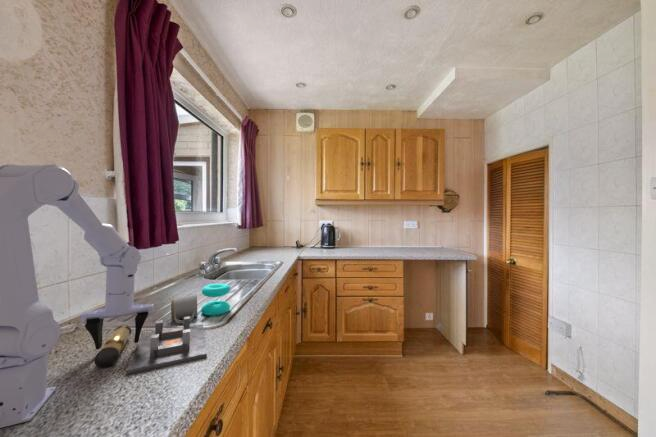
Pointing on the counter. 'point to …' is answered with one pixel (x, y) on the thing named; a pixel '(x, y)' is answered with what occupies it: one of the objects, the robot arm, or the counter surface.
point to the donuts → (215, 306)
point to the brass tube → (113, 347)
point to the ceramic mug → (184, 308)
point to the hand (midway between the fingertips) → (118, 344)
